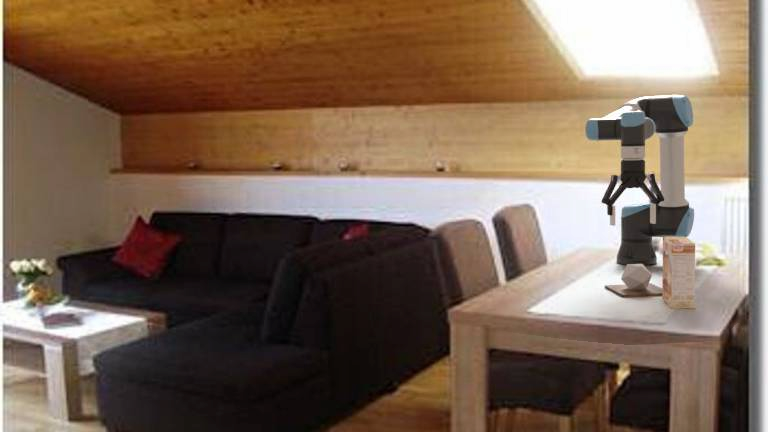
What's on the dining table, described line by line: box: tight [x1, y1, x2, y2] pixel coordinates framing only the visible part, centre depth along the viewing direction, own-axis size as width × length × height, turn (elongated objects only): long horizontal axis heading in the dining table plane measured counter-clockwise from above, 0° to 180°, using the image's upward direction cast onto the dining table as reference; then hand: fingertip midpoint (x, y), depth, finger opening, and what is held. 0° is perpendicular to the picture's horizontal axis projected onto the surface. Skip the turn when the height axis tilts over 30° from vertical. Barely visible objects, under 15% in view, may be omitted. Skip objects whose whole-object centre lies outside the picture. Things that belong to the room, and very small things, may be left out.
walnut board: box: [604, 282, 663, 298], centre depth 263 cm, size 16×16×1 cm
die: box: [620, 264, 653, 290], centre depth 263 cm, size 8×9×10 cm
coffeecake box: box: [661, 236, 696, 309], centre depth 244 cm, size 15×7×20 cm, turn 170°
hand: (632, 224), depth 263 cm, fingers open, 13 cm apart
